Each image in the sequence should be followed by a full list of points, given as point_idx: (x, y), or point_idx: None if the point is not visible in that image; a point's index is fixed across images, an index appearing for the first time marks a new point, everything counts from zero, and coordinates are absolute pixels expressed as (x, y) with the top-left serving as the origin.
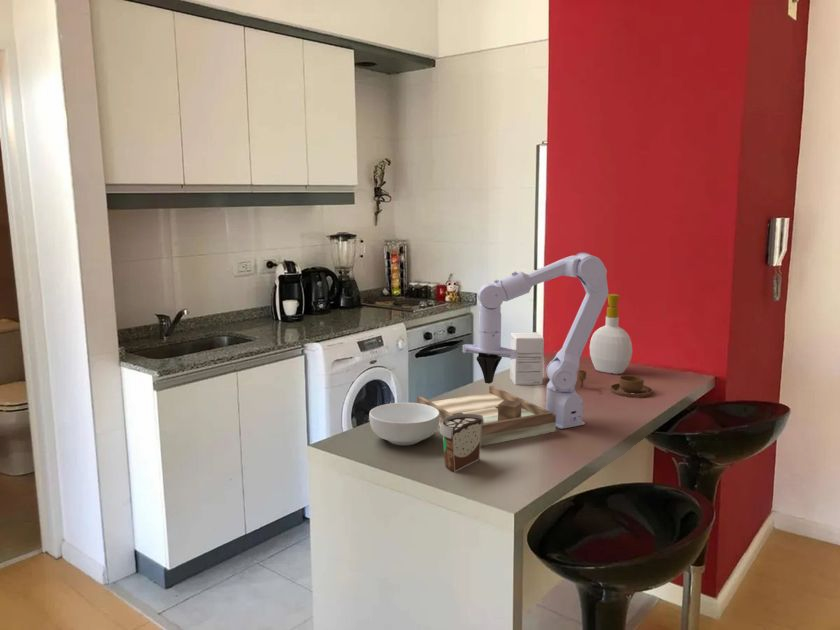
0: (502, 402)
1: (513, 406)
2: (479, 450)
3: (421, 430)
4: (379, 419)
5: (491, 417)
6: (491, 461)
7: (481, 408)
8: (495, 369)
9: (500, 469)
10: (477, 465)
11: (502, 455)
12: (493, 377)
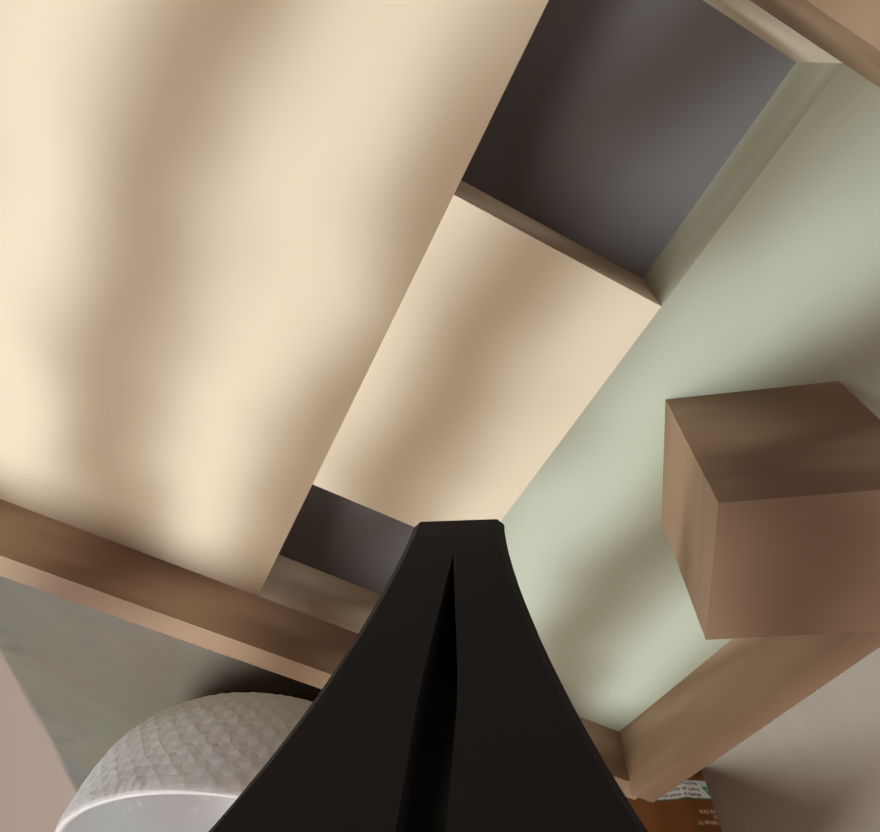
0: (726, 580)
1: (874, 624)
2: (712, 811)
3: None
4: (121, 805)
5: (572, 465)
6: (758, 762)
7: (370, 313)
8: (564, 717)
9: (820, 796)
10: (714, 799)
11: (790, 708)
12: (511, 569)
